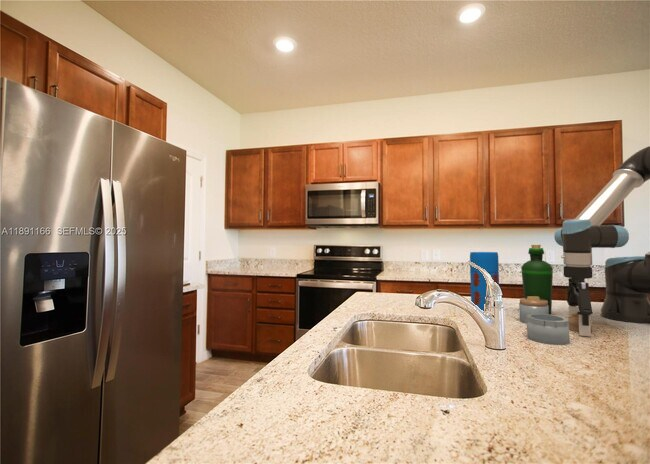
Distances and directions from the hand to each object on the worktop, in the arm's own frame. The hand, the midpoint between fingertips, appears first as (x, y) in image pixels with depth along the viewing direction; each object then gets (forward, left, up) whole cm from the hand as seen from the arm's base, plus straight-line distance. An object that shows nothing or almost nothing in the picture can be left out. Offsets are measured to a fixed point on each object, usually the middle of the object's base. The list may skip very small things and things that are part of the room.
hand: (579, 330), depth 105 cm
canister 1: (+12, -7, 0) cm, 14 cm away
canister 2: (+11, +15, 0) cm, 18 cm away
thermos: (+28, -19, 0) cm, 34 cm away
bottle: (+9, -21, 0) cm, 23 cm away
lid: (0, 0, 0) cm, 0 cm away
